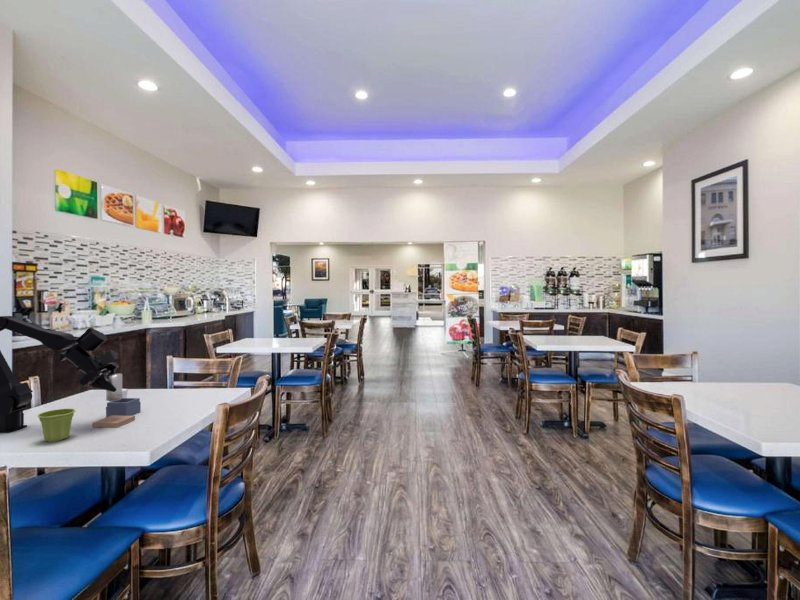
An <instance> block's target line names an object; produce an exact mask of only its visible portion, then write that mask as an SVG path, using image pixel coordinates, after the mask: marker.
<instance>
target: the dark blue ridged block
mask: <svg viewBox="0 0 800 600" xmlns="http://www.w3.org/2000/svg"><path fill="white" fill-rule="evenodd" d="M141 403H142V402H141V400H140V398H139V397H134V398H133V397H127V398H122V399H120V400H116V401H111V402H109V401H107V402H106V407H105V418H107V417H109V416H112V415H117V416H135V415H136V414H138V413H140V412H141V409H142V408H141Z"/></svg>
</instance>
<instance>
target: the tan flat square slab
mask: <svg viewBox="0 0 800 600" xmlns="http://www.w3.org/2000/svg"><path fill="white" fill-rule="evenodd" d="M135 420H136V416H135V415H131V416H117V415H112V416H109V417H104V418H102V419H99V420H97V421H93V422H92V427H93V428H119V427H121V426H124V425H126V424H128V423H130V422H133V421H135Z"/></svg>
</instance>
